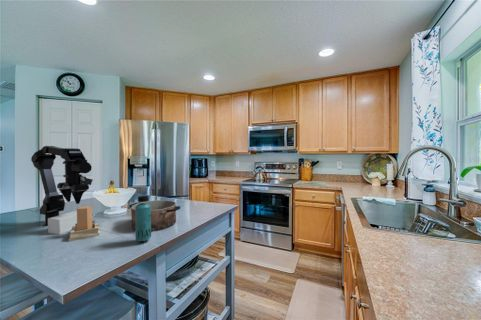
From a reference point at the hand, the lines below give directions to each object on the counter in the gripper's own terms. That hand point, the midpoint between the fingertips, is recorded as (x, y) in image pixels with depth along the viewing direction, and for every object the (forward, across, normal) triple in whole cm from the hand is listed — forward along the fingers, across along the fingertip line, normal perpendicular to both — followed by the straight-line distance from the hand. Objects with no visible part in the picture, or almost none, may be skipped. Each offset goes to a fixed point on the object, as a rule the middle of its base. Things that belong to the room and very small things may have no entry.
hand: (73, 202), depth 103 cm
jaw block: (+12, -15, +2) cm, 20 cm away
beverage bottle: (+13, -46, -6) cm, 49 cm away
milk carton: (+9, -1, +9) cm, 13 cm away
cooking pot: (+13, -33, -23) cm, 42 cm away
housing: (+13, -14, +1) cm, 19 cm away
